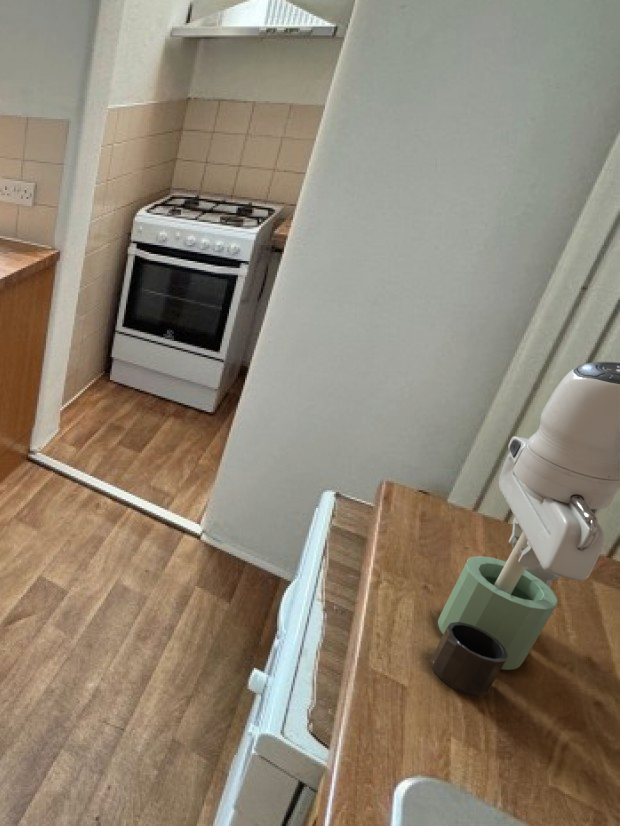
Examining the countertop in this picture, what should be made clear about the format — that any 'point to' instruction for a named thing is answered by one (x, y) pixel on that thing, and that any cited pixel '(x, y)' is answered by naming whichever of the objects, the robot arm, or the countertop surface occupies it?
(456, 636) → the holder
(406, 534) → the countertop surface
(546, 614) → the jar
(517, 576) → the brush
